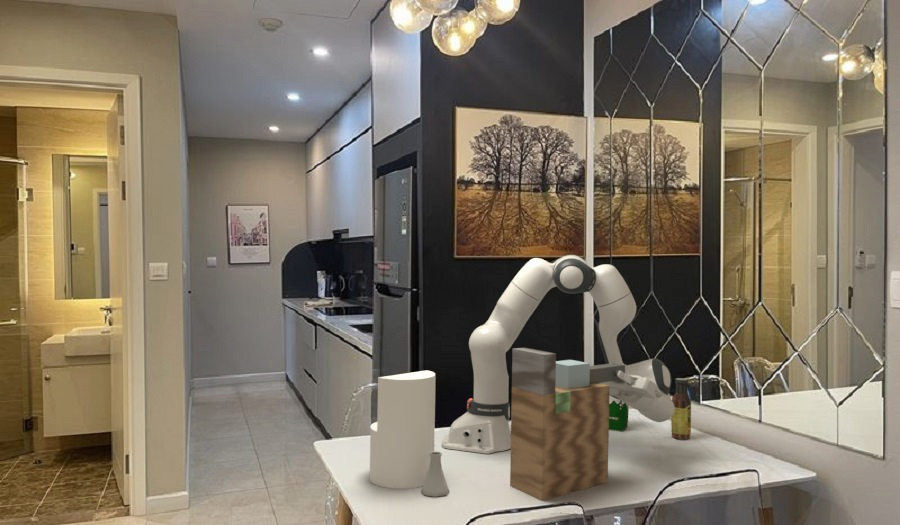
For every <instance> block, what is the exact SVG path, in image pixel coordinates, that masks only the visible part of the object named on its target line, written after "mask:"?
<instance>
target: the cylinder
mask: <svg viewBox="0 0 900 525" xmlns="http://www.w3.org/2000/svg"><path fill="white" fill-rule="evenodd" d="M376 413H377V417H376V418H377V421H375V422H373V423H372V424H371V425H370V433H369V434H370V439H369V440H370V441H369V442H370V444H369V450H370V451H369V480H370V481H371V482H372V483H371V484H374V485H377V486H380V487H383V488H386V489H387V488H389V489H397V490H398V489H403V490H404V489H414V488H419V487H423V484H424V481H425V479H426V476H427V473H428V470H429V466H430V455H429V453H430V452H434V451H435V427H436V426H435V425H436V424H435V422H436V419H435V418H436V373H435V372H434V371H431V370H419V371H414V372H412V371H411V372H407V373H400V374H399V373H398V374H393V375H386V376H379V377H377V412H376Z"/></svg>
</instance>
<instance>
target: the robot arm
mask: <svg viewBox="0 0 900 525" xmlns="http://www.w3.org/2000/svg"><path fill="white" fill-rule="evenodd" d="M555 287H557V288H558V290H560V291H561V292H563V293H566V294H572V295H573V294H579V293H581V294H582V293H589V294H590V295H591V297H592V299H593V301H594V304H595V306H596V308H597V310H598V313H599V314H598V315H599V321H598V322H597V324H596V332H597V338H598V341H599V344H600V348H601V351H602V354H603V358H604V361H605V364H611V363H616V364H621V365H625V373H623V372H622V371H619V370H616V373H615V376H616V377H617V378H620V379H622V380H617V381H609V382H602V383H600V384H605V385H609V386H610V391H609V396H612V397H614V398H616V399H619V400H621V401H623V402H624V403H626V404H628V405H629V406H630V407H631V408H633V409H634V410H637V411H638V412H639V413H640V414H641V415H642V416H644V417H645V418H647V419H649V420H651V421H653V422H656V423H662V422H663V423H664V422H665V421H668V420H669V419H671V416H672V415H673V413H674V410H675V407H674V404H673V402H672V398H671V395H670V391H671V387H672V373H671V371H670V369H669V367H668V366H667V365H666V364H665V363H664V362H663V361H662V360H660V359H658V358H657V357H656V358H655V357H653V358H649V359H646V360H642V361H639V362H635V363H632V364H625V363H624V362H623V360H622V356H621V353H620V348H619V346H618V342H617V339H618V335H619V333H620V332H621V331H622V330H623V329H625V328H626V327H627V326H628V325H630V324H631V322H632V321H633V320H634V318H635V316H636V313H637V304H636V301H635V299H634V296H633V294H632V292H631V290H630V288H629V286H628V284H627V282H626V281H625V279H624V277H623V276H622V275H621V273H620V272H619V270H618V269H617V268H616V266H614V265H612V264H608V263H607V264H606V263H605V264H600V265H597V266H589V265H588V263H587V262H586V260H585V259H583V258H582V257H581V256H579V255H577V254H566V255H563V256H561V257H559V258H557V259H554V260H552V261H551V262H549V261H548V260H544V259H543V258H539V257H534V258H531V259H529V261H527V262H526V263H524V265H523V266H522V267H521V268H520V270H519V271H518V272H517V273H516V275H515V276H514V277H513V279H512V280H511V281H510V283H509V284H508V286H507V287H506V289H505V290H504V292H502V294H501V296H500V297H499V299H498V301H497V302H496V305H495V306H494V309H493V310H492V312H491V314H490V316H489V318H488V320H486V322H485V323H484V324H482V325H480V326H478V327H476V328H475V329H474V330H473V332H472V333H471V335H470V337H469V341H468V347H469V351H470V358H471V364H472V370H473V398H469V399H468V400H467V402H466V412H465V413H464V414H462V415H461V416H459V417H457V418H456V419H455V420H454V421H453V422H452V424H451V425H450V427H449V431H448V435H446V436H444V437H443V439H442V440H441V447H443V449H449V450H457V451H464V452H470V453H479V454H489V455H490V454H493V453H497V452H504V451H507V450H511V429H510V422H509V421H510V418H511V406H510V404H511V402H510V401H509V384H510V382H509V380H510V377H509V373H508V368H507V359H506V353H507V352H508V351H509V350H510V349H511V347H512V345H513V344H514V342H515V341H516V340H517V338H518V337H519V335H520V334H521V331H522V330H523V328H524V327H525V325H526V323H527V322H528V320H529V319H530V317H531V316H532V315H533V313H534V311H535V310H536V309H537V307H538V306H539V305H540V303H541V301H542V300H543V299H544V297H545V296H546V295H547V293H548V292H549V291H550V290H551V289H553V288H555Z"/></svg>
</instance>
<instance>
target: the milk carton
mask: <svg viewBox="0 0 900 525" xmlns="http://www.w3.org/2000/svg"><path fill="white" fill-rule="evenodd" d="M629 406H630V405H628V404H626V403H624V402H623V401H621V400H619V399H616V398H614V397H612V396H609V431H616V432H623V431H624V430H626V429H627V428H629V427H628V424H629V411H630V409H629V408H630V407H629Z"/></svg>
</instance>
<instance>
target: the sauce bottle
mask: <svg viewBox="0 0 900 525" xmlns="http://www.w3.org/2000/svg"><path fill="white" fill-rule="evenodd" d="M688 381H689V380H688V378H682V377H681V378H680V377H677V378H675V379H674V383H675V389H674V390H675V393H674V394H673V396H672V398H671V400H672V402H673V404H674V407H675V410H674V413H673V415H672V416H671V417H670V419H671V423H670V424H671V426H670V427H671V428H670V429H671V430H670V432H671V437H672V438H673V439H676V440H683V441H685V440H686V441H687V440H690V439H691V433H692V402H691V401H692V400H691V399H690V395H689V394H688V392H689V391H688V384H689V382H688Z"/></svg>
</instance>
